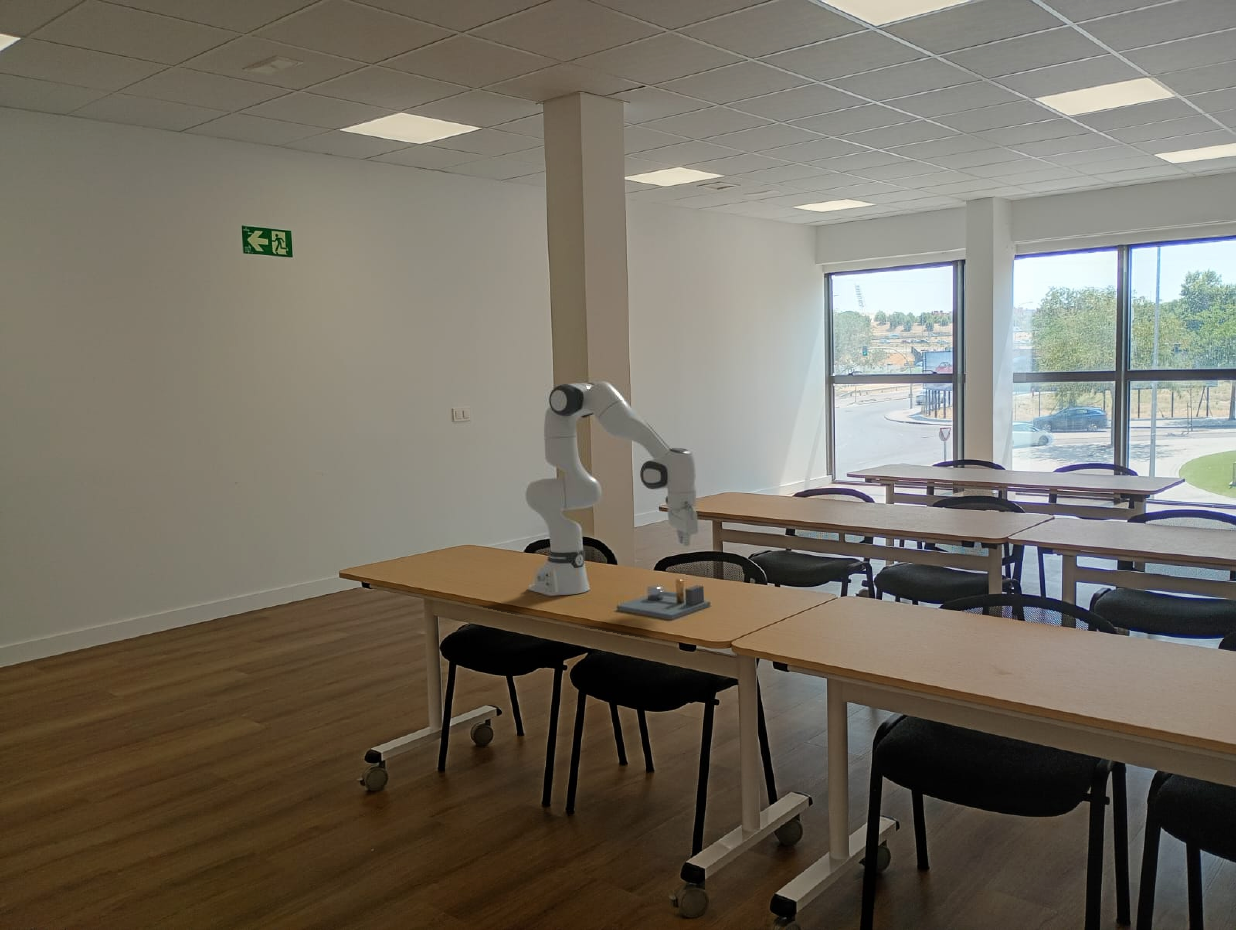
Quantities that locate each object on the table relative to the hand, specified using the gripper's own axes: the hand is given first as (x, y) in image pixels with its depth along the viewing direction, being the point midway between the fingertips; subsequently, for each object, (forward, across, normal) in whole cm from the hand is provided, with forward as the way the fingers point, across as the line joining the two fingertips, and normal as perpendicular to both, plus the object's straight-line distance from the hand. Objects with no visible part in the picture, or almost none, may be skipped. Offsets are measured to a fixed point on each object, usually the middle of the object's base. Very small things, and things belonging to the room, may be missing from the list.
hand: (684, 544), depth 298 cm
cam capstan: (+17, +1, +6) cm, 19 cm away
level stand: (+19, -2, +8) cm, 21 cm away
